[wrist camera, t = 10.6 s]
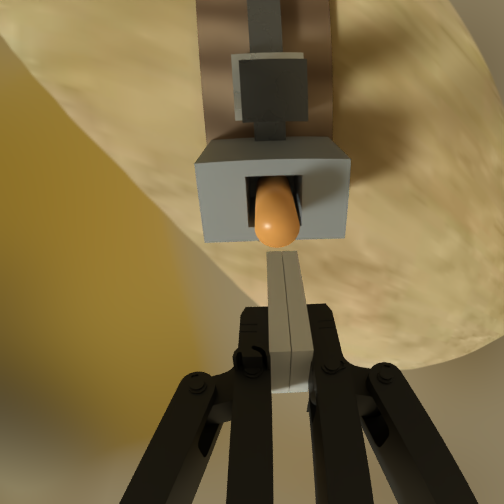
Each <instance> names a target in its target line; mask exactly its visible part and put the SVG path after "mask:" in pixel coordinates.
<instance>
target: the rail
mask: <svg viewBox="0 0 504 504" xmlns="http://www.w3.org/2000/svg"><path fill="white" fill-rule="evenodd" d="M247 13H248V30H249V47H250V53H272V52H283V44H282V26H281V9H280V0H247ZM254 137H255V141H284V140H286V122H254Z"/></svg>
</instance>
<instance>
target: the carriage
mask: <svg viewBox="0 0 504 504" xmlns="http://www.w3.org/2000/svg"><path fill="white" fill-rule="evenodd" d="M231 63H232V78H233V93H234V108H235V121H239V120H242V123H252V122H286V121H308V79H307V59H304V57H303V53H301V52H272V53H246V54H231Z"/></svg>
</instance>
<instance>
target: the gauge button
mask: <svg viewBox="0 0 504 504" xmlns="http://www.w3.org/2000/svg"><path fill="white" fill-rule="evenodd" d="M299 230H300V224H299V220H298V216H297V211H296V207H295V203H294V199H293V196H292V192H291V188H290V184H289V181H288V179H287V177H286V176H285V175H276V176H260V177H259V179H258V180H257V183H256V204H255V233H256V236H257V237H258V239H259V240H260V241H261V242H262V243H263V244H265V245H267V246H270V247H275V248H278V247H284V246H287V245H289V244H290V243H292V242H293V241H294V240H295V239H296V238H297V236H298V234H299Z"/></svg>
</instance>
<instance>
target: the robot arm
mask: <svg viewBox="0 0 504 504" xmlns="http://www.w3.org/2000/svg"><path fill="white" fill-rule="evenodd" d="M267 283H268V307H246V308H245V309H244V311H243V312H242V314H241V317H240V331H239V344H238V348H237V349H236V351H234V354H233V364H234V367H233V368H232V369H231V370H229V371H228V372H225V373H223V374H220V375H216V376H212V377H211V376H210V375H209V374H207V373H204V372H193V373H190V374H188V375H186V376H185V377H184V378H183V379H182V381H181V382H180V384H179V386H178V388H177V390H176V392H175V394H174V396H173V398H172V400H171V402H170V404H169V406H168V408H167V410H166V412H165V414H164V416H163V417H162V420H161V422H160V423H159V425H158V428H157V430H156V431H155V433H154V435H153V438H152V439H151V441H150V444H149V445H148V447H147V450H146V451H145V453H144V455H143V457H142V459H141V461H140V463H139V465H138V467H137V469H136V471H135V473H134V475H133V477H132V479H131V482H130V483H129V485H128V487H127V489H126V491H125V493H124V495H123V497H122V499H121V501H120V503H119V504H192V501H193V499H194V496H195V494H196V492H197V489H198V487H199V484H200V482H201V479H202V477H203V474H204V472H205V469H206V466H207V464H208V461H209V459H210V456H211V454H212V451H213V449H214V446H215V443H216V440H217V438H218V436H219V433H220V430H221V428H222V425H223V422H227V421H231V433H230V449H229V466H228V481H227V499H226V504H273V441H272V401H271V400H272V397H271V393H288V392H290V393H291V392H307V391H308V388H309V402H308V407H307V412H309V417H310V428H311V440H312V453H313V466H314V480H315V496H316V504H374V502H373V494H372V487H371V480H370V473H369V467H368V461H367V455H366V449H365V443H364V438H363V432H362V428H363V431H364V433H365V434H366V437H367V439H368V441H369V443H370V445H371V447H372V449H373V451H374V453H375V455H376V457H377V460H378V462H379V464H380V466H381V468H382V470H383V472H384V474H385V476H386V479H387V481H388V483H389V485H390V487H391V489H392V491H393V493H394V496H395V498H396V500H397V502H398V504H478V502H477V500H476V498H475V496H474V494H473V493H472V491H471V489H470V487H469V485H468V483H467V481H466V480H465V478H464V476H463V474H462V472H461V470H460V469H459V467H458V465H457V463H456V462H455V460H454V458H453V456H452V454H451V453H450V451H449V449H448V448H447V446H446V444H445V443H444V441H443V439H442V437H441V436H440V434H439V432H438V431H437V429H436V427H435V426H434V424H433V422H432V421H431V419H430V417H429V416H428V414H427V412H426V411H425V409H424V408H423V406H422V404H421V403H420V401H419V399H418V398H417V396H416V395H415V393H414V391H413V390H412V389H411V387H410V385H409V383H408V382H407V380H406V379H405V377H404V376H403V374H402V373H401V371H400V370H399V369H398V368H397V367H396V366H395V365H393V364H391V363H386V362H382V363H378V364H376V365H374V366H373V367H372V368H371V369H369V368H363V367H358V366H354V365H352V364H350V363H349V362H348V361H347V360H346V359H345V358H344V357H343V354H342V351H341V347H340V342H339V338H338V334H337V330H336V325H335V321H334V317H333V313H332V310H331V309H330V308H329V307H328V306H327V305H326V303H325V304H306V299H305V293H304V288H303V282H302V276H301V270H300V265H299V259H298V254H297V251H282V252H281V251H274V252H267ZM361 426H362V427H361Z"/></svg>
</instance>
